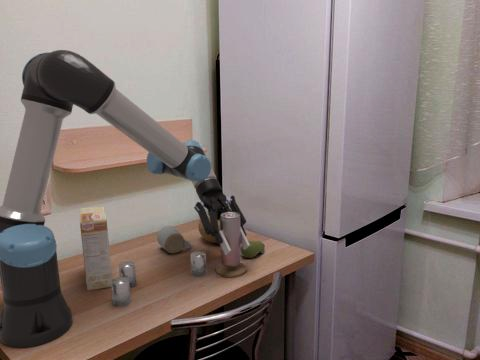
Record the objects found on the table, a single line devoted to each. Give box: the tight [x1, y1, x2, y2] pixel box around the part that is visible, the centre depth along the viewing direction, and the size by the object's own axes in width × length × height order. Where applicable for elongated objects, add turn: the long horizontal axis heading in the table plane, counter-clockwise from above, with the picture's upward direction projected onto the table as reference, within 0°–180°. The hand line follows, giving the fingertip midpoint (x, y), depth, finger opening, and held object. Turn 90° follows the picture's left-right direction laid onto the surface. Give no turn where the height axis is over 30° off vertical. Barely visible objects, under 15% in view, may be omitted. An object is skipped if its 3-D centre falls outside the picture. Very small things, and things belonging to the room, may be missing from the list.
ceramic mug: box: [156, 225, 192, 254], centre depth 143 cm, size 11×8×8 cm
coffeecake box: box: [79, 205, 113, 291], centre depth 121 cm, size 15×7×20 cm, turn 20°
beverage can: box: [219, 212, 242, 267], centre depth 124 cm, size 6×6×15 cm
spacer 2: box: [190, 250, 207, 278], centre depth 125 cm, size 4×4×6 cm
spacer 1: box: [110, 276, 132, 307], centre depth 108 cm, size 4×4×6 cm
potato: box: [197, 217, 220, 244], centre depth 150 cm, size 10×14×8 cm
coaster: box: [215, 262, 247, 278], centre depth 126 cm, size 9×9×1 cm
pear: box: [241, 240, 266, 259], centre depth 138 cm, size 6×5×10 cm
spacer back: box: [118, 260, 137, 289], centre depth 118 cm, size 4×4×6 cm
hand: (237, 249), depth 122 cm, fingers closed on beverage can, 6 cm apart
